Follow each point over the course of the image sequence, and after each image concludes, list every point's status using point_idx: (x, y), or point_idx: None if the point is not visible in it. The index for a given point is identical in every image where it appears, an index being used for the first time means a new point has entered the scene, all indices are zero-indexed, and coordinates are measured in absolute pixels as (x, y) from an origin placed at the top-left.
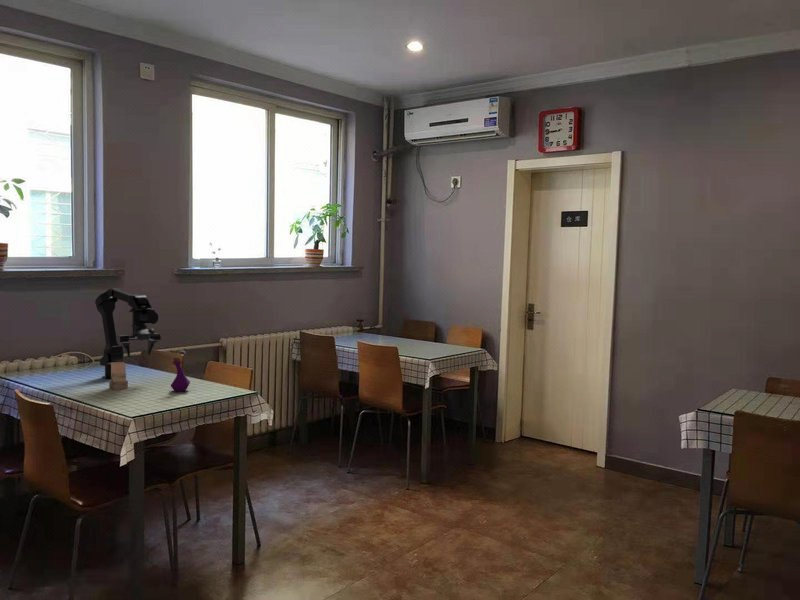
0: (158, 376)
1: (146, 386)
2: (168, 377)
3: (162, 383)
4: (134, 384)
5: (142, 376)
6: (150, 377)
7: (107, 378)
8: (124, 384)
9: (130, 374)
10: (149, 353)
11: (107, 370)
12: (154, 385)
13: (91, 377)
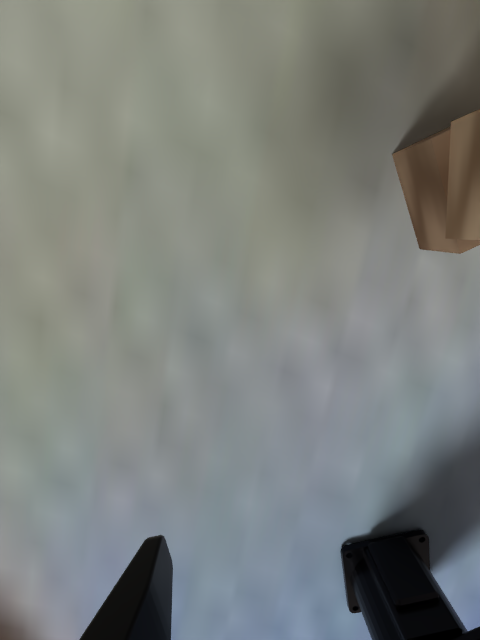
0: (102, 523)
1: (242, 165)
2: (33, 470)
3: (99, 248)
4: (310, 292)
5: (204, 550)
6: (159, 505)
7: (419, 530)
8: (443, 131)
9: (261, 621)
10: (146, 562)
11: (445, 597)
12: (173, 183)
13: (476, 594)
